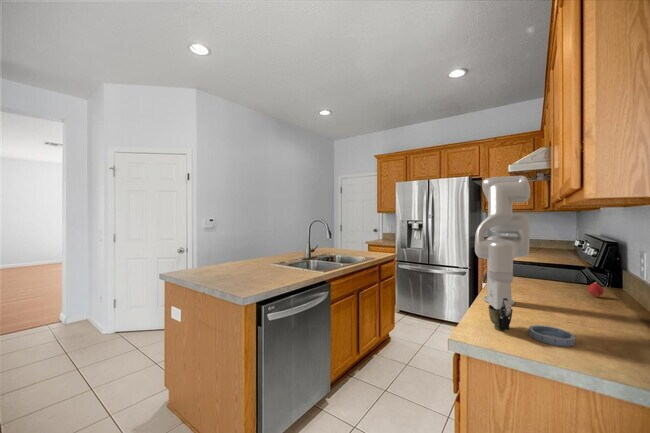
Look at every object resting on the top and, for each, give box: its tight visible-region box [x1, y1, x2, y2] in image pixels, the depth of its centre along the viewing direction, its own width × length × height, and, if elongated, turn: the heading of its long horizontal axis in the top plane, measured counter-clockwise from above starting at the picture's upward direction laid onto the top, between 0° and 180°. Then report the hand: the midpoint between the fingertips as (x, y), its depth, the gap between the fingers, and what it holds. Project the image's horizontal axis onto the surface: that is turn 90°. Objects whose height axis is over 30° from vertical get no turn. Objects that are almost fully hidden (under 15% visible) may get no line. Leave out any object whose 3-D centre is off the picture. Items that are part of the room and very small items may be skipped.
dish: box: [528, 324, 576, 348], centre depth 95 cm, size 12×12×2 cm
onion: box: [587, 281, 605, 298], centre depth 144 cm, size 6×6×8 cm
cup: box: [488, 304, 513, 332], centre depth 102 cm, size 8×7×8 cm
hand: (500, 325), depth 102 cm, fingers closed on cup, 6 cm apart
